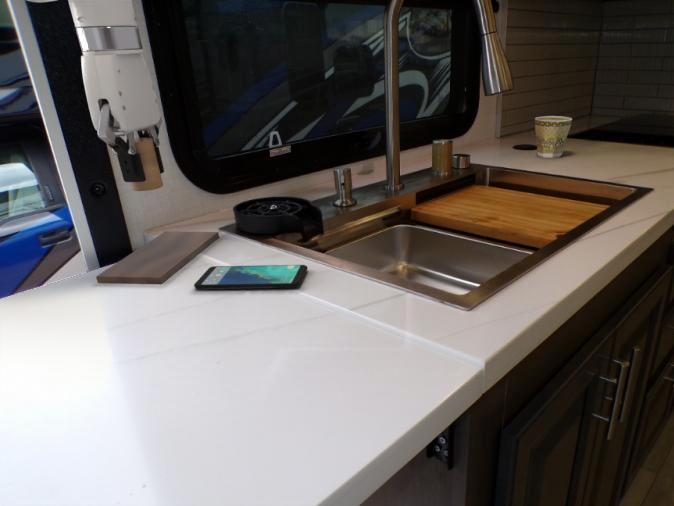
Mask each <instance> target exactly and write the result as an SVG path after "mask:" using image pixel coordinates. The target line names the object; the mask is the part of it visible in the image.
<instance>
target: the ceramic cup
mask: <svg viewBox="0 0 674 506" xmlns="http://www.w3.org/2000/svg"><path fill="white" fill-rule="evenodd" d="M572 122H573V118H572V117H569V116H561V115H559V116H558V115H545V116H538V117H534V130H535V138H536V152H537V156H538V157H542V158H549V159H550V158H551V159H552V158H553V159H554V158H560V157H562V155H563V152H564V149H565V145H566V141H567V138H568V135H569V132H570V129H571V126H572Z"/></svg>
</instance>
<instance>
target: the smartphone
mask: <svg viewBox="0 0 674 506" xmlns="http://www.w3.org/2000/svg"><path fill="white" fill-rule="evenodd" d="M307 270H308V265H306V264H271V265H270V264H269V265H268V264H263V265H262V264H261V265H213V266H210V267H208V268H207V269H206V271H205V272H204V273H203V274H202V275H201V276H200V277H199V278H198V279H197V280H196V281H195V282H194V284H193V287H194V288H195V289H197V290H221V289H222V290H225V289H227V290H228V289H229V290H231V289H232V290H233V289H235V290H236V289H289V288H290V289H291V288H293V289H294V288H298V287H299V286H300V285H301V283H302V281H303V279H304V277H305V275H306V273H307Z"/></svg>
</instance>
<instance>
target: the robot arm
mask: <svg viewBox="0 0 674 506" xmlns="http://www.w3.org/2000/svg"><path fill="white" fill-rule="evenodd" d="M26 1H27V2H31V3H49V2H56V1H57V0H26ZM67 1H68V5H69V9H70V12H71V17H72V20H73V23H74V28H75V31H76V32H75V33H76V36H77V38H78V42H79V46H80V49H81V54H82V55H81V56H80V63H81V64H80V65H81V73H82V74H81V75H82V81H83V86H84V92H85V96H86V101H87V105H88V106H87V107H88V110H89V113H90V118H91V122H92V125H93V127H94V129H95V131H97V137H98V138H99V139H100V140H101V141H103V142H104V143H106V144H107V145H108V146H109V147H110V149H112V152H113V155H115V156H116V157H117V160H118V164H119V168H120V172H121V175H122V179H123V181H124V182H125V183H130V182H144V181H145V180H146V177H145V173H144V169H143V165H142V161H141V157H140V153H139V154H135V153H136V148H135V139H134V138H152V140H153V144H154V149H155V153H156V157H157V161H158V165H159V170H160V174H161V175H162V174H163V173H165V167H164V163H163V159H162V155H161V152H160V151H161V150H160V144H161V141H160V139H159V134H160V128H161V126H162V123H163V120H162V117H161V114H160V110H159V109H160V108H159V105H158V103H159V102H158V99H157V95H156V90H155V87H154V84H153V81H152V76H151V73H150V71H149V68H148V65H147V62H146V60H145V57H144V48H143V44H142V40H141V35H140V30H139V27H138V22H137V18H136V13H135V10H134V5H133V0H67ZM122 137H125V139H123V138H122ZM124 140H126V142H125V141H124Z"/></svg>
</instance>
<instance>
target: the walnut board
mask: <svg viewBox="0 0 674 506" xmlns="http://www.w3.org/2000/svg"><path fill="white" fill-rule="evenodd" d="M219 238H220V235H219V231H169V230H167V231H164V232H162V233H161V234H159V235H158V236H156V237H154V238H153V239H152V240H150V241H148V242H147V243H145V244H144V245H142V246H141V247H139V248H137V249H136V250H135V251H132V252H131V253H129V254H128V255H126V256H125V257H124V258H122V259H120V260H119V261H117V262H116V263H114V264H112V266H109V267H108V268H107V269H105V270H104V271H102V272H100V273H99V274H97V275H96V276H95V278H96V282H97V283H99V284H100V283H103V284H105V283H106V284H150V285H151V284H153V285H162V284H164V283H165V282H166V281H167V280H168V279H170V278H171V277H172V276H173V275H174V274H176V273H177V272H178V271H179V270H181V269H182V268H183V267H185V266H186V265H187V264H189V262H190V261H192V260H193V259H194V258H195V257H197V256H199V254H201V253H202V252H203V251H204V250H205V249H206V248H208V247H209V246H210V245H212V244H213V243H214V242H215V241H216V240H217V239H219Z"/></svg>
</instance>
